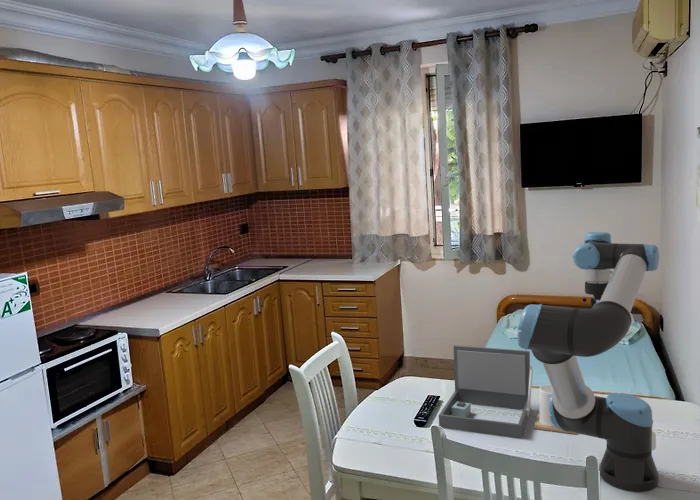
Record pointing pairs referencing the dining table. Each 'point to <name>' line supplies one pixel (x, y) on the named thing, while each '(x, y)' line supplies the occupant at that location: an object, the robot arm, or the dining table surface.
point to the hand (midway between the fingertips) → (597, 346)
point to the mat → (546, 428)
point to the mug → (545, 404)
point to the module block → (461, 409)
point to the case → (490, 388)
